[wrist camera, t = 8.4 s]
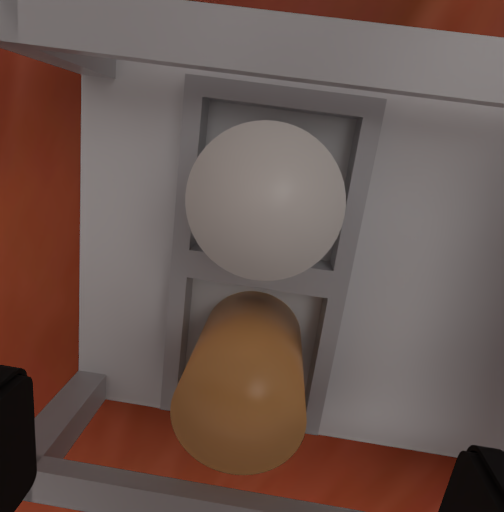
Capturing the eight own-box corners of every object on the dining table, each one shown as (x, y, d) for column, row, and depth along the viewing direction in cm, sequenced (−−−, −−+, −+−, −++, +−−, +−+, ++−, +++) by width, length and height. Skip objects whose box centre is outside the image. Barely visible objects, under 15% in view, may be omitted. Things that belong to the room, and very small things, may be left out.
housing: (92, 41, 14) (-38, -26, 9) (806, 130, 13) (1206, 120, 7) (87, 383, 18) (-6, 495, 12) (639, 474, 17) (817, 643, 11)
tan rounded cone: (209, 284, 16) (175, 346, 11) (308, 298, 15) (317, 369, 11) (201, 370, 17) (165, 463, 12) (292, 385, 16) (295, 485, 12)
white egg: (225, 121, 14) (192, 109, 9) (335, 135, 14) (361, 132, 9) (214, 228, 15) (179, 269, 10) (316, 243, 15) (330, 291, 10)
